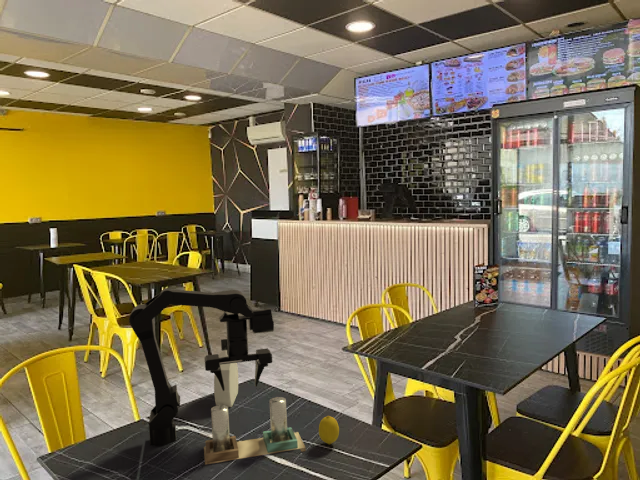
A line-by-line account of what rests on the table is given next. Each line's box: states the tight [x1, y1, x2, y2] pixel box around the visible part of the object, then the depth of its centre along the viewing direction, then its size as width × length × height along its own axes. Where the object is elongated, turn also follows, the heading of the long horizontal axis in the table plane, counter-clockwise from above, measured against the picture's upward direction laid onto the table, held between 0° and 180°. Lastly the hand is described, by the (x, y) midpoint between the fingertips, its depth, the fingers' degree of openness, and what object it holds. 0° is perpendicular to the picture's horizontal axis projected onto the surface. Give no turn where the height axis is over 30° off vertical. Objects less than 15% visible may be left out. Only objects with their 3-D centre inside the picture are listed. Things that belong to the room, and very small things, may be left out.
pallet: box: [203, 426, 307, 465], centre depth 133 cm, size 26×9×3 cm, turn 105°
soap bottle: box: [213, 350, 239, 408], centre depth 166 cm, size 16×5×20 cm, turn 179°
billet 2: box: [268, 396, 288, 443], centre depth 134 cm, size 4×4×12 cm
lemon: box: [318, 415, 340, 445], centre depth 135 cm, size 6×6×8 cm
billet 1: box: [210, 405, 231, 452], centre depth 130 cm, size 4×4×12 cm
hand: (239, 388), depth 143 cm, fingers open, 9 cm apart
